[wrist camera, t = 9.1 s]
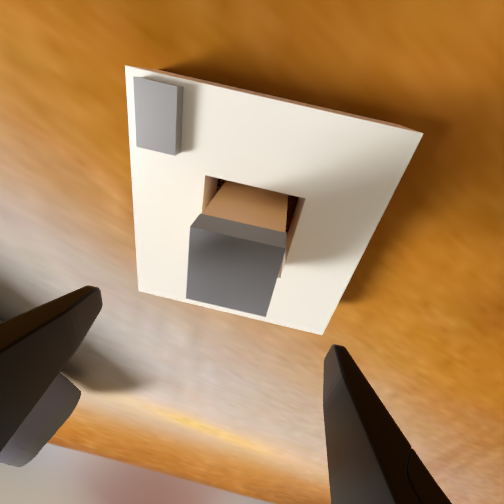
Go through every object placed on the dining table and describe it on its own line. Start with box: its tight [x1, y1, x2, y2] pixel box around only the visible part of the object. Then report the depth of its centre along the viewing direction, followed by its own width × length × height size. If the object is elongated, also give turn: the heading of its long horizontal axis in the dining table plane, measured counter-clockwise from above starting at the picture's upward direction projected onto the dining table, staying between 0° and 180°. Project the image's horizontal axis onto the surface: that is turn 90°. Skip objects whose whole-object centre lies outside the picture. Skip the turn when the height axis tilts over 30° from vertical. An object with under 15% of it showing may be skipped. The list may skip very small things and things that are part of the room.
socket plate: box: [125, 66, 424, 335], centre depth 17 cm, size 14×14×4 cm
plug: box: [186, 180, 288, 317], centre depth 16 cm, size 4×4×8 cm
